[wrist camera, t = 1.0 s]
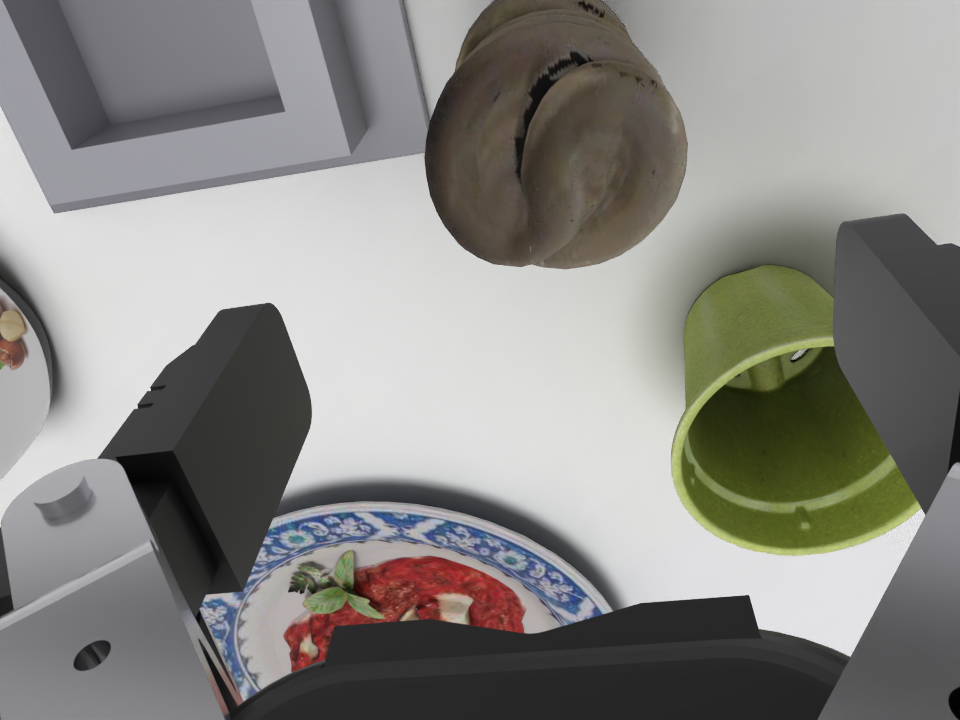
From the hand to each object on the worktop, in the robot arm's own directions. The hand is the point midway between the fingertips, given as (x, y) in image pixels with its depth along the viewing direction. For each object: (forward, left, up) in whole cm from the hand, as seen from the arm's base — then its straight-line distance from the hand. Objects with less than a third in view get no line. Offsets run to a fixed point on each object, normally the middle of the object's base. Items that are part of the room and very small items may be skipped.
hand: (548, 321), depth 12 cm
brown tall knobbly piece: (0, 0, -20) cm, 20 cm away
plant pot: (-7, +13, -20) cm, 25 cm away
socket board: (+13, -4, -20) cm, 24 cm away
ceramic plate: (+13, +32, -21) cm, 40 cm away
